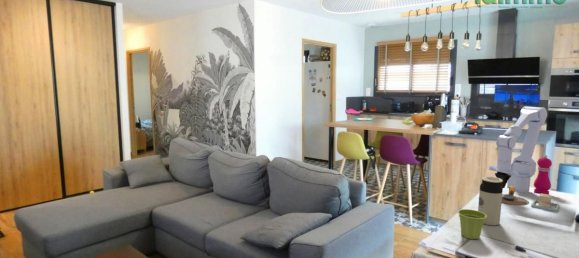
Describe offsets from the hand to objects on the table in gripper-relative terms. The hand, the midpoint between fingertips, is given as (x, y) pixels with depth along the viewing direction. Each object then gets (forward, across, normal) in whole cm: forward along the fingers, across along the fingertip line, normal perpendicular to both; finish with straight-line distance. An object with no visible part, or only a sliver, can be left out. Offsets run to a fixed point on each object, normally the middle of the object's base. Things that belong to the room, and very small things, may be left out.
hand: (501, 187), depth 176 cm
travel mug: (+5, +22, -32) cm, 39 cm away
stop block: (+4, +19, +4) cm, 19 cm away
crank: (+3, +5, -1) cm, 6 cm away
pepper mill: (+5, +2, +25) cm, 26 cm away
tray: (+5, +19, +4) cm, 20 cm away
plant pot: (+5, +30, -49) cm, 58 cm away
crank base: (+5, +7, -3) cm, 9 cm away
